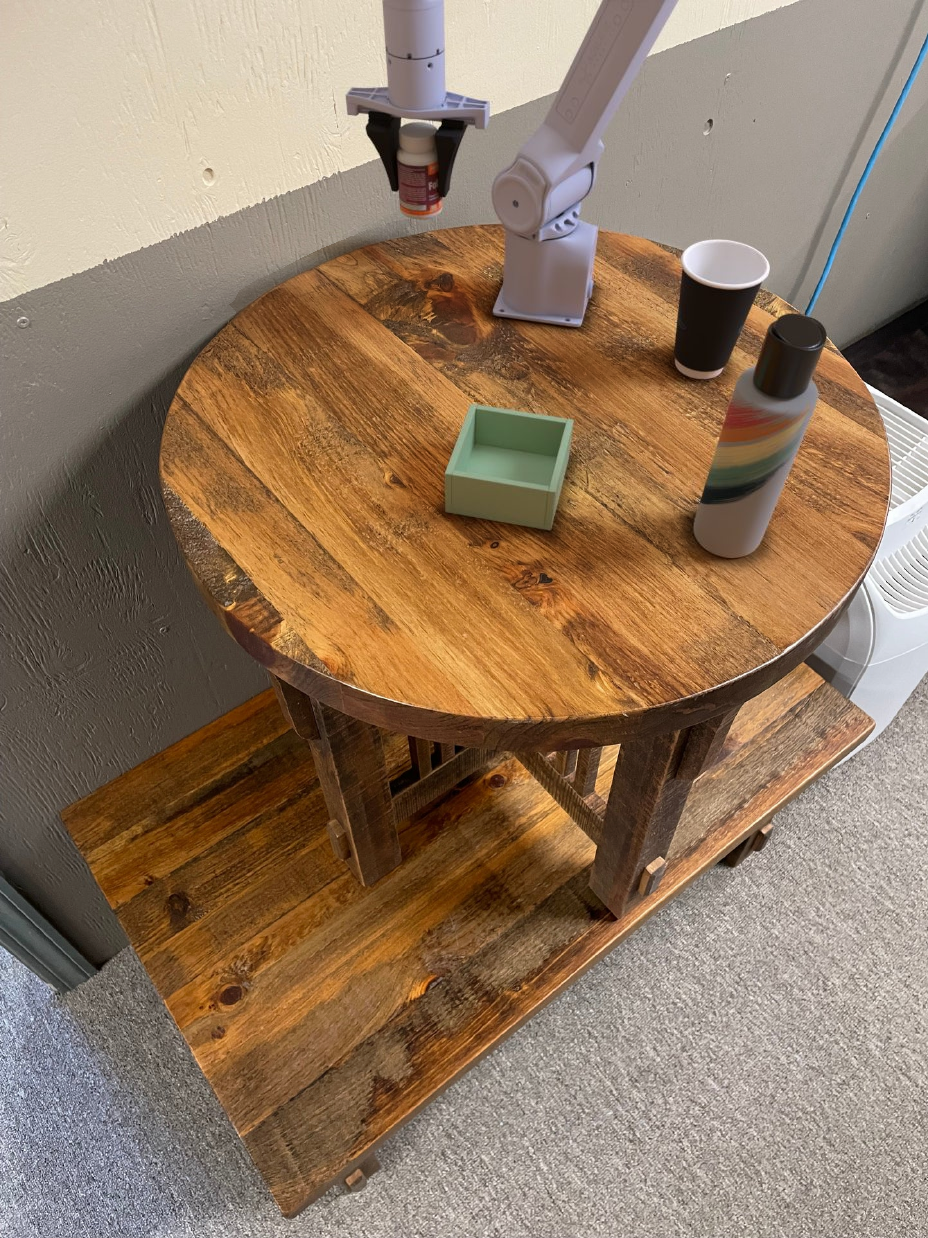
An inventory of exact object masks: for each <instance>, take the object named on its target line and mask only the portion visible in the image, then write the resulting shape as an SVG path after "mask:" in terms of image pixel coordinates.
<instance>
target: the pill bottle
mask: <svg viewBox="0 0 928 1238" xmlns="http://www.w3.org/2000/svg"><path fill="white" fill-rule="evenodd" d="M437 130H438V128H437V127H436V126H435V125H433V124H431V123H429V122H423V121H414V122H408V123H405V124H403V125H401V128H400V129H399V144H400V147H399V148H398V150H397V170H398V186H399V190H398V203H399V211H400V212H401V214H402V215H403V216H405V217H407V218H408V219H412V220H418V221H423V220H424V221H425V220H431V219H433V218H435V217H437V216H438V215H440V214H441V213H442V211H443V197H439V193H438V172H439V169H438V157H437V149H436V143H435V133H436V131H437Z"/></svg>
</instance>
